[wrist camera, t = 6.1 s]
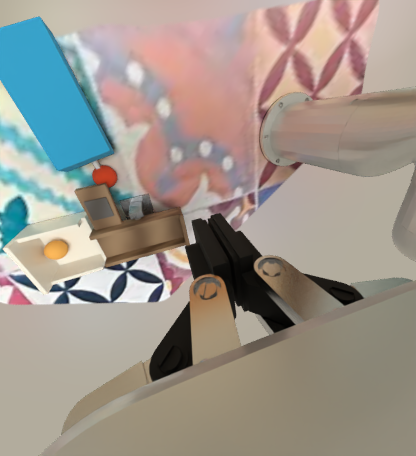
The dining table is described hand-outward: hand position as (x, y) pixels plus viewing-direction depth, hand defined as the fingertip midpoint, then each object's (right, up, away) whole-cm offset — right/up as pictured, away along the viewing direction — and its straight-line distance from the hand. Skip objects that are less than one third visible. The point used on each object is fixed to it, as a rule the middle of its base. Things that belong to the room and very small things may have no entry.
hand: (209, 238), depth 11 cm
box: (-24, -1, +23) cm, 33 cm away
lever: (-19, +16, +16) cm, 29 cm away
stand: (-13, +2, +25) cm, 28 cm away
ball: (-25, -3, +21) cm, 33 cm away
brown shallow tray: (-12, +3, +21) cm, 24 cm away
